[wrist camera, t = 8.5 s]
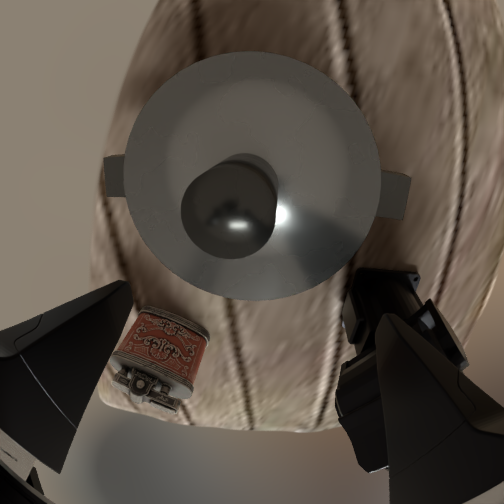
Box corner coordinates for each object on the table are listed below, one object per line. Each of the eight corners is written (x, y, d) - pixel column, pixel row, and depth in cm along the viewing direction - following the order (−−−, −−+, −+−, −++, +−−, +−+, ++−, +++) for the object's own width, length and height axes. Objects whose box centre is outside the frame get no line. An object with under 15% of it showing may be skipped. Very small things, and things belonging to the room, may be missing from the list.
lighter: (139, 320, 28) (98, 388, 19) (142, 299, 26) (96, 370, 17) (205, 348, 28) (181, 425, 19) (213, 329, 27) (187, 411, 18)
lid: (385, 74, 9) (436, 55, 5) (348, 298, 15) (365, 363, 11) (132, 67, 10) (69, 55, 6) (145, 277, 16) (106, 329, 12)
